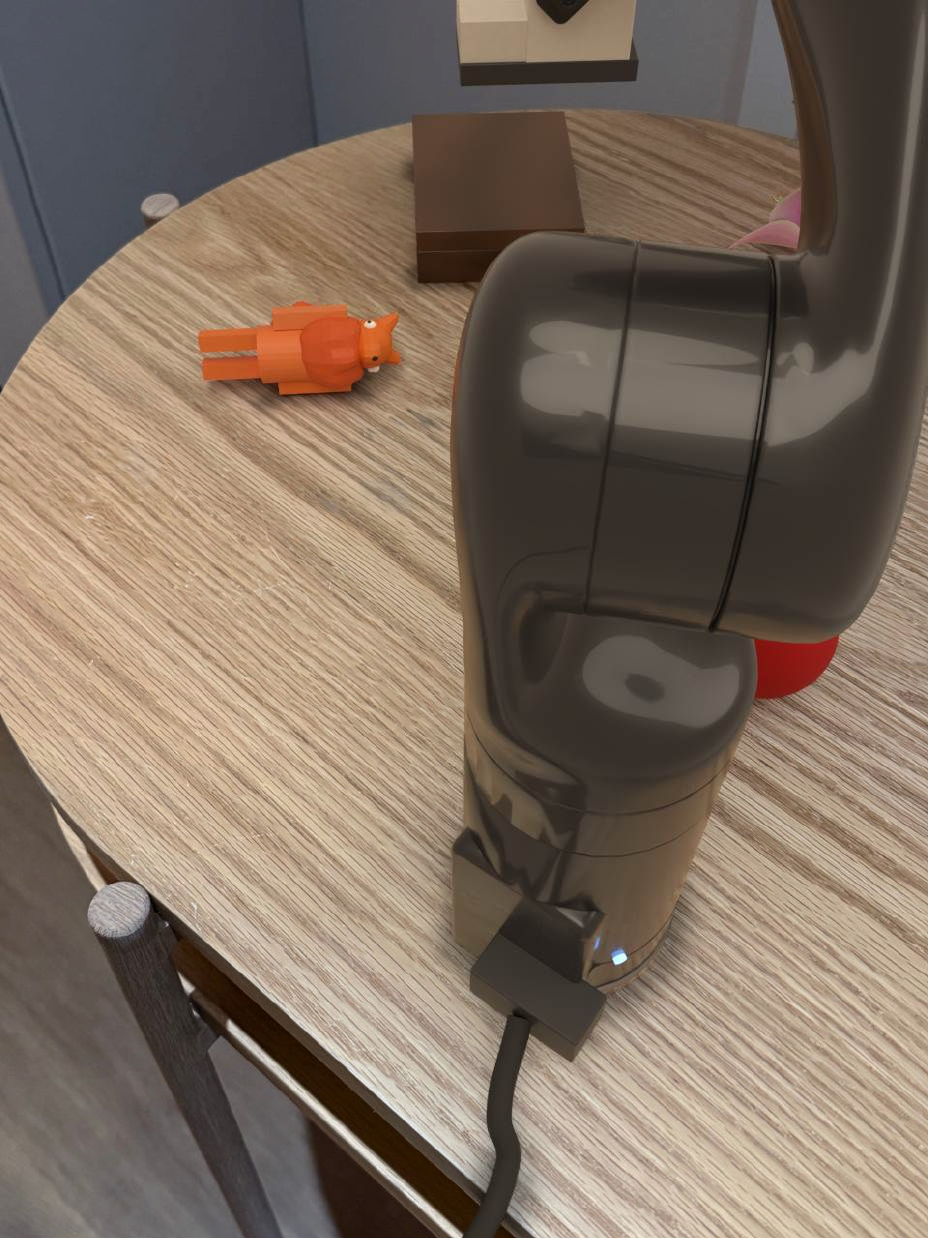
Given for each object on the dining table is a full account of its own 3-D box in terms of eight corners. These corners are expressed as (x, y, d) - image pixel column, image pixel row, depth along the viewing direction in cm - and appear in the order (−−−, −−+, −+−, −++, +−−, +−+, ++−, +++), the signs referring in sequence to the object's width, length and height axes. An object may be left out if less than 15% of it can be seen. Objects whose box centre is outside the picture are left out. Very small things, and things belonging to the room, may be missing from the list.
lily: (866, 248, 81) (839, 112, 76) (938, 292, 71) (912, 138, 66) (705, 313, 83) (668, 183, 78) (753, 365, 73) (714, 220, 68)
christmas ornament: (723, 590, 62) (762, 460, 54) (843, 656, 59) (903, 530, 51) (653, 677, 58) (684, 552, 50) (777, 751, 56) (830, 632, 48)
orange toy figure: (189, 330, 66) (399, 321, 66) (204, 287, 72) (396, 278, 72) (202, 412, 68) (403, 402, 69) (216, 363, 75) (400, 354, 75)
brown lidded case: (560, 161, 86) (564, 110, 83) (580, 278, 78) (585, 227, 74) (413, 164, 86) (411, 114, 82) (417, 283, 77) (415, 232, 74)
